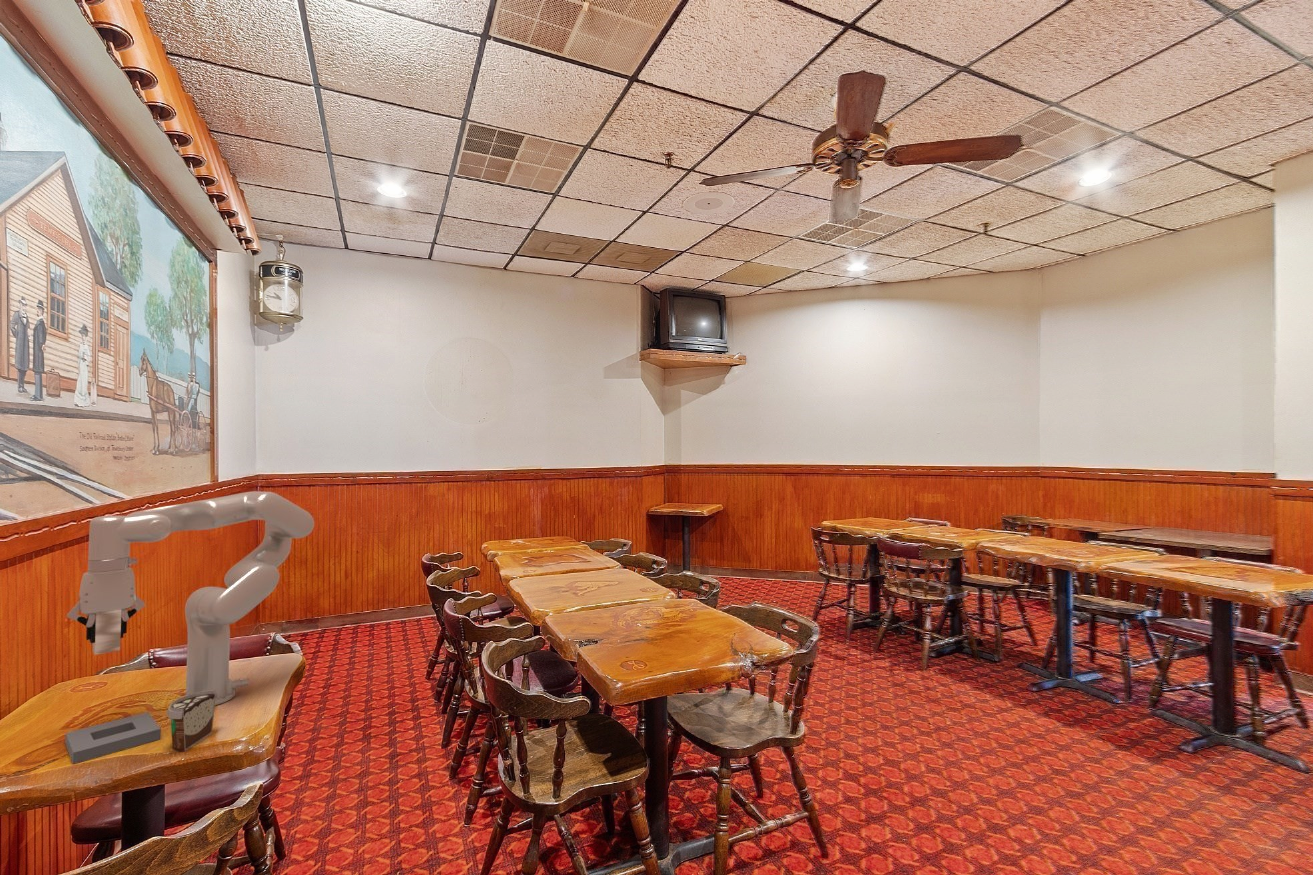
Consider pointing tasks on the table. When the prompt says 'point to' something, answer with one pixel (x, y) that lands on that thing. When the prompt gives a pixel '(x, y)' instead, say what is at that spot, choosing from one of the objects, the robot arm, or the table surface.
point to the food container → (191, 719)
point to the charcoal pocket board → (111, 737)
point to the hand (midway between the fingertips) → (106, 638)
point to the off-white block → (107, 632)
